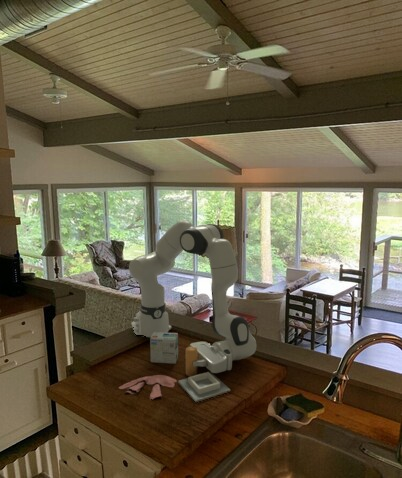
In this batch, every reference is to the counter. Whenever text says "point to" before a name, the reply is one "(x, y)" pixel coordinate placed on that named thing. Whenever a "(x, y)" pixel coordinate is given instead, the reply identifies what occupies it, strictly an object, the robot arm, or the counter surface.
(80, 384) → the counter surface
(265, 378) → the counter surface
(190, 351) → the tapered orange cylinder
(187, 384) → the cylinder holder
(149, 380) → the cloth
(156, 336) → the light bulb box
